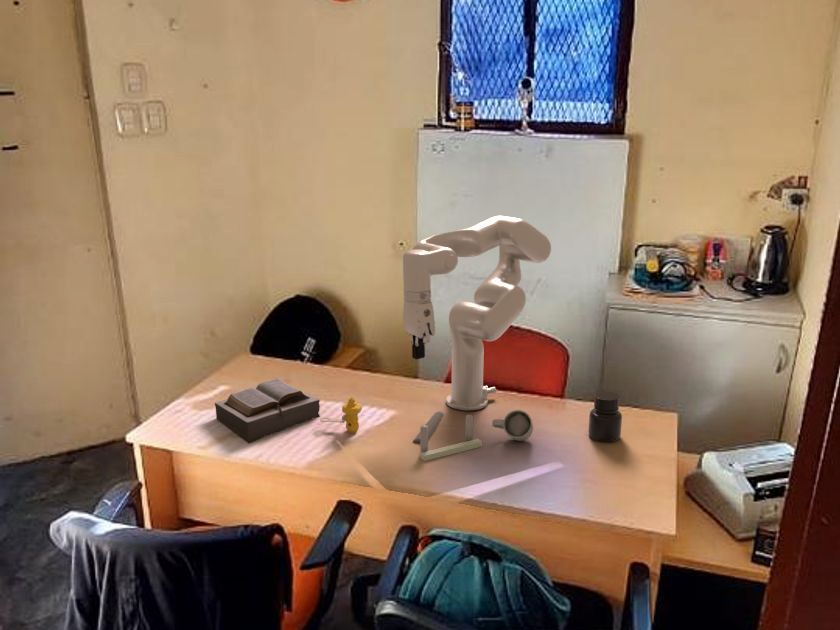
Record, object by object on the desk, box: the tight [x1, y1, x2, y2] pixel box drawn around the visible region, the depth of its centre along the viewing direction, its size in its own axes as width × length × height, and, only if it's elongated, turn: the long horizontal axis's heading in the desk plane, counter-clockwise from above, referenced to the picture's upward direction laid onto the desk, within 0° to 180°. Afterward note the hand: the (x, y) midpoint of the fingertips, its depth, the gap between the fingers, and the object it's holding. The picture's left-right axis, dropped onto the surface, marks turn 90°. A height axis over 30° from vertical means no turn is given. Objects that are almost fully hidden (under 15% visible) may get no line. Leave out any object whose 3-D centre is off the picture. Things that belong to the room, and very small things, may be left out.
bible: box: [214, 377, 321, 444], centre depth 229 cm, size 23×27×10 cm
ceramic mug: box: [491, 409, 534, 442], centre depth 215 cm, size 11×8×8 cm
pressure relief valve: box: [319, 397, 363, 434], centre depth 222 cm, size 6×12×10 cm, turn 78°
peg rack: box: [419, 414, 483, 462], centre depth 210 cm, size 18×4×8 cm, turn 119°
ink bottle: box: [587, 390, 623, 442], centre depth 219 cm, size 10×9×12 cm
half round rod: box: [412, 411, 445, 444], centre depth 224 cm, size 4×20×2 cm, turn 162°
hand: (418, 357), depth 221 cm, fingers closed
